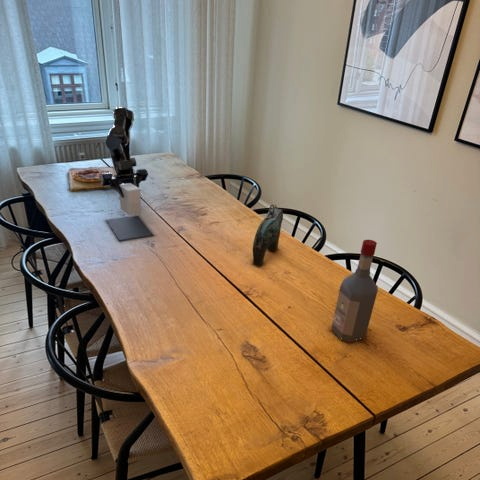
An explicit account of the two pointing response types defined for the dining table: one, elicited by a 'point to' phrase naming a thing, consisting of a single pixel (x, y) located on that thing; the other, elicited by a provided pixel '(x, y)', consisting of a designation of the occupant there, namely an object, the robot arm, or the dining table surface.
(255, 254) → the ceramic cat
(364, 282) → the liquor
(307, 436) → the dining table surface
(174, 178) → the dining table surface
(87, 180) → the pizza
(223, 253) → the dining table surface
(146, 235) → the placemat
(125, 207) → the small box
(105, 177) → the robot arm
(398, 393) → the dining table surface
